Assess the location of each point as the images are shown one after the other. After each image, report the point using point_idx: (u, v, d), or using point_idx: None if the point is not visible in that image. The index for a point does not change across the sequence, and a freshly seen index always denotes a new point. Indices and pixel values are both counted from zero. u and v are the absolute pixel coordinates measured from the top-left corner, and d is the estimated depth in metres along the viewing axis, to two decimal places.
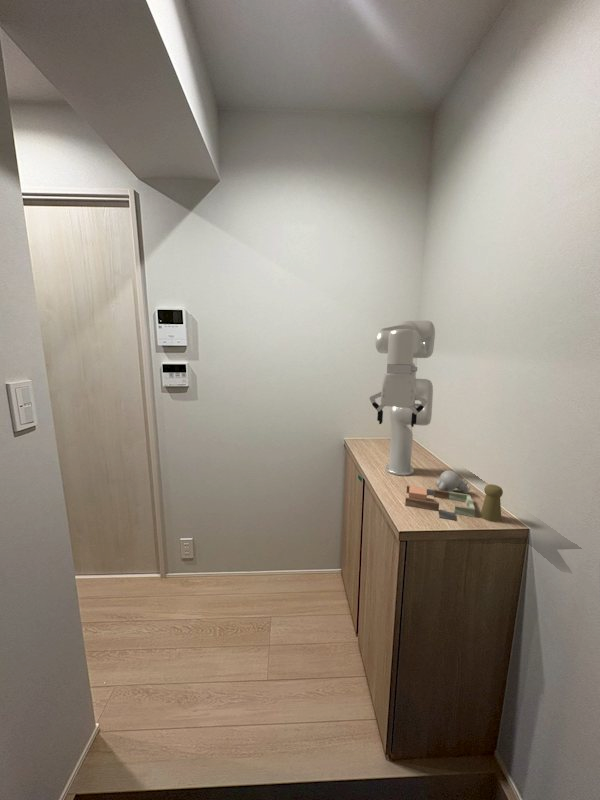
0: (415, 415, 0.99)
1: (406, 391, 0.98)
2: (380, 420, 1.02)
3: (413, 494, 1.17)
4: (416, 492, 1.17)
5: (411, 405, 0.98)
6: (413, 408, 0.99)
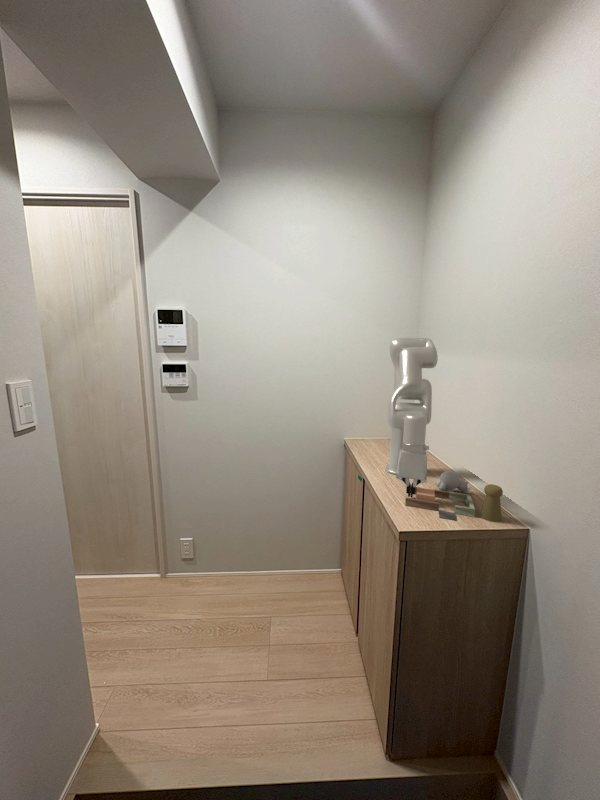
0: (414, 487, 1.18)
1: (419, 467, 1.15)
2: (409, 493, 1.19)
3: (421, 496, 1.16)
4: (424, 493, 1.16)
5: (423, 478, 1.16)
6: (415, 482, 1.17)
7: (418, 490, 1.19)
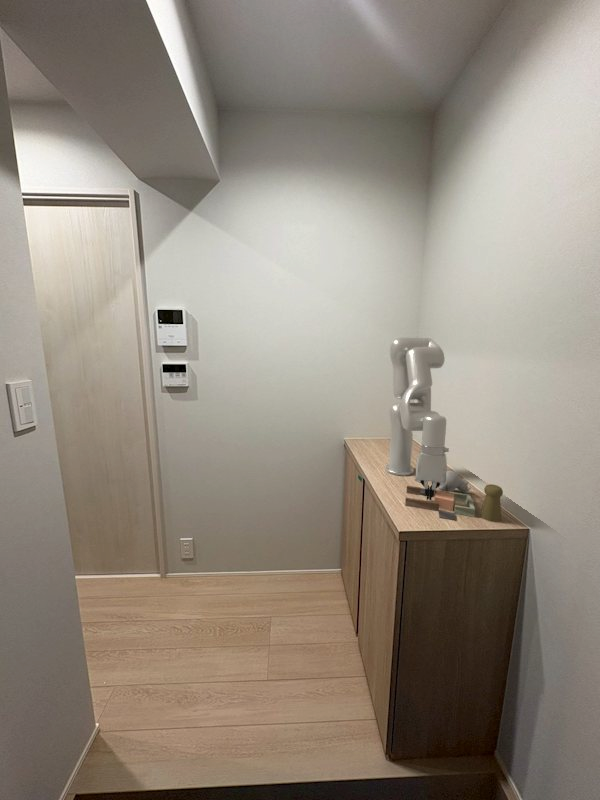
0: (433, 490, 1.16)
1: (439, 469, 1.13)
2: (428, 496, 1.16)
3: (439, 499, 1.13)
4: (442, 497, 1.13)
5: (443, 481, 1.13)
6: (434, 485, 1.15)
7: (437, 493, 1.16)
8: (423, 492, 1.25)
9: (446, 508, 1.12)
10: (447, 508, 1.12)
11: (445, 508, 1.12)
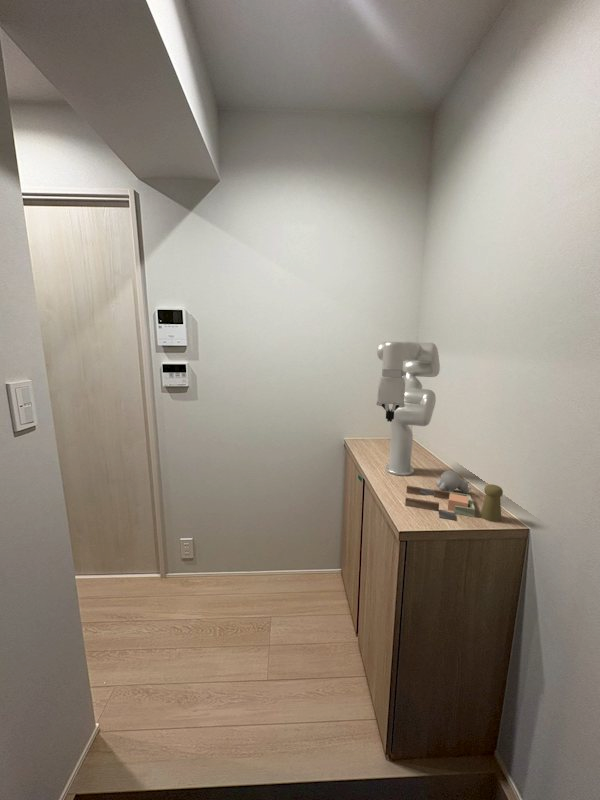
0: (393, 412, 1.26)
1: (397, 391, 1.23)
2: (388, 418, 1.26)
3: (453, 502, 1.11)
4: (456, 500, 1.11)
5: (401, 402, 1.23)
6: (394, 406, 1.25)
7: (451, 496, 1.14)
8: (423, 492, 1.25)
9: None
10: None
11: None
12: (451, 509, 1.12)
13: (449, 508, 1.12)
